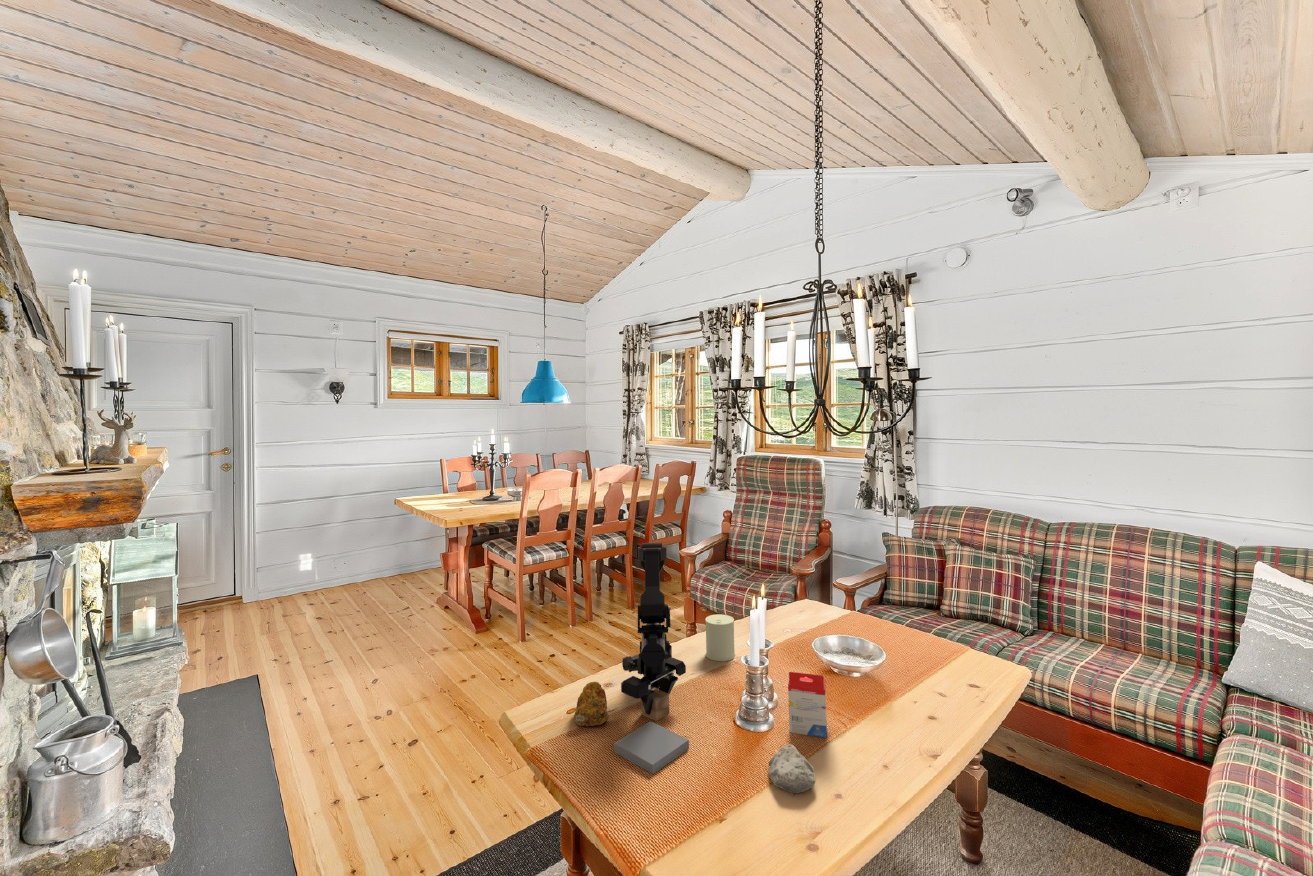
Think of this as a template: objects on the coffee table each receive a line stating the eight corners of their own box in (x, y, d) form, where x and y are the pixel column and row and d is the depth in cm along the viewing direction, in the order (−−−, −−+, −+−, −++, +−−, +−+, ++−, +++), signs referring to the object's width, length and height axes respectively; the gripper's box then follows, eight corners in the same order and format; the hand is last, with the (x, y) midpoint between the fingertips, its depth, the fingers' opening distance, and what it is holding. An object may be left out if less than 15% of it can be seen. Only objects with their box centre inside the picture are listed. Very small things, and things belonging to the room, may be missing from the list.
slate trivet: (650, 729, 133) (650, 721, 133) (689, 748, 125) (688, 739, 125) (614, 752, 124) (614, 743, 124) (653, 774, 116) (652, 764, 116)
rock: (612, 731, 140) (608, 719, 133) (580, 740, 139) (574, 728, 131) (605, 687, 147) (601, 673, 140) (574, 695, 146) (568, 681, 139)
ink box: (827, 727, 132) (826, 667, 131) (826, 739, 127) (825, 676, 127) (790, 722, 135) (789, 663, 134) (788, 733, 130) (787, 671, 130)
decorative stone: (831, 789, 110) (831, 764, 110) (786, 804, 106) (785, 779, 106) (794, 755, 121) (794, 733, 121) (752, 768, 117) (751, 745, 117)
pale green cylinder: (704, 660, 170) (703, 622, 170) (707, 648, 179) (706, 612, 179) (734, 662, 169) (733, 623, 168) (735, 649, 178) (734, 613, 178)
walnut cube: (655, 706, 144) (654, 687, 143) (669, 713, 140) (668, 693, 140) (641, 714, 140) (641, 695, 140) (656, 721, 137) (655, 701, 136)
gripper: (655, 630, 152) (656, 686, 152) (605, 652, 138) (606, 713, 139) (686, 641, 144) (687, 699, 145) (636, 665, 131) (638, 729, 131)
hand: (655, 709), depth 140 cm, fingers closed on walnut cube, 5 cm apart
